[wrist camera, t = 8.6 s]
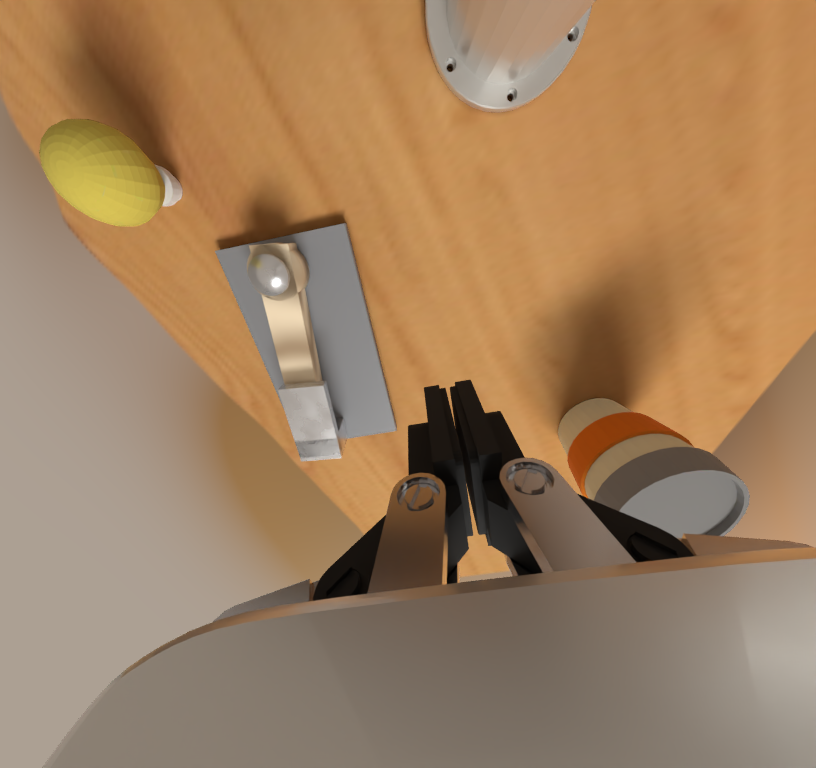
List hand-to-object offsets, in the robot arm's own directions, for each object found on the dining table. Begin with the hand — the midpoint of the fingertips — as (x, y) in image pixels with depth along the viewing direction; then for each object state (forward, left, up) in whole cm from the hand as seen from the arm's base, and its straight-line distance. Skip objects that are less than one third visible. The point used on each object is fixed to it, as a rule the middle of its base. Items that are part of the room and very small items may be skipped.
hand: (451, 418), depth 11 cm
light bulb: (-14, -22, -25) cm, 36 cm away
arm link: (+2, -14, -24) cm, 28 cm away
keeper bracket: (+11, -15, -24) cm, 31 cm away
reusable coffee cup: (+22, +20, -25) cm, 39 cm away
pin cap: (-5, -14, -21) cm, 26 cm away
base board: (+4, -13, -25) cm, 29 cm away
